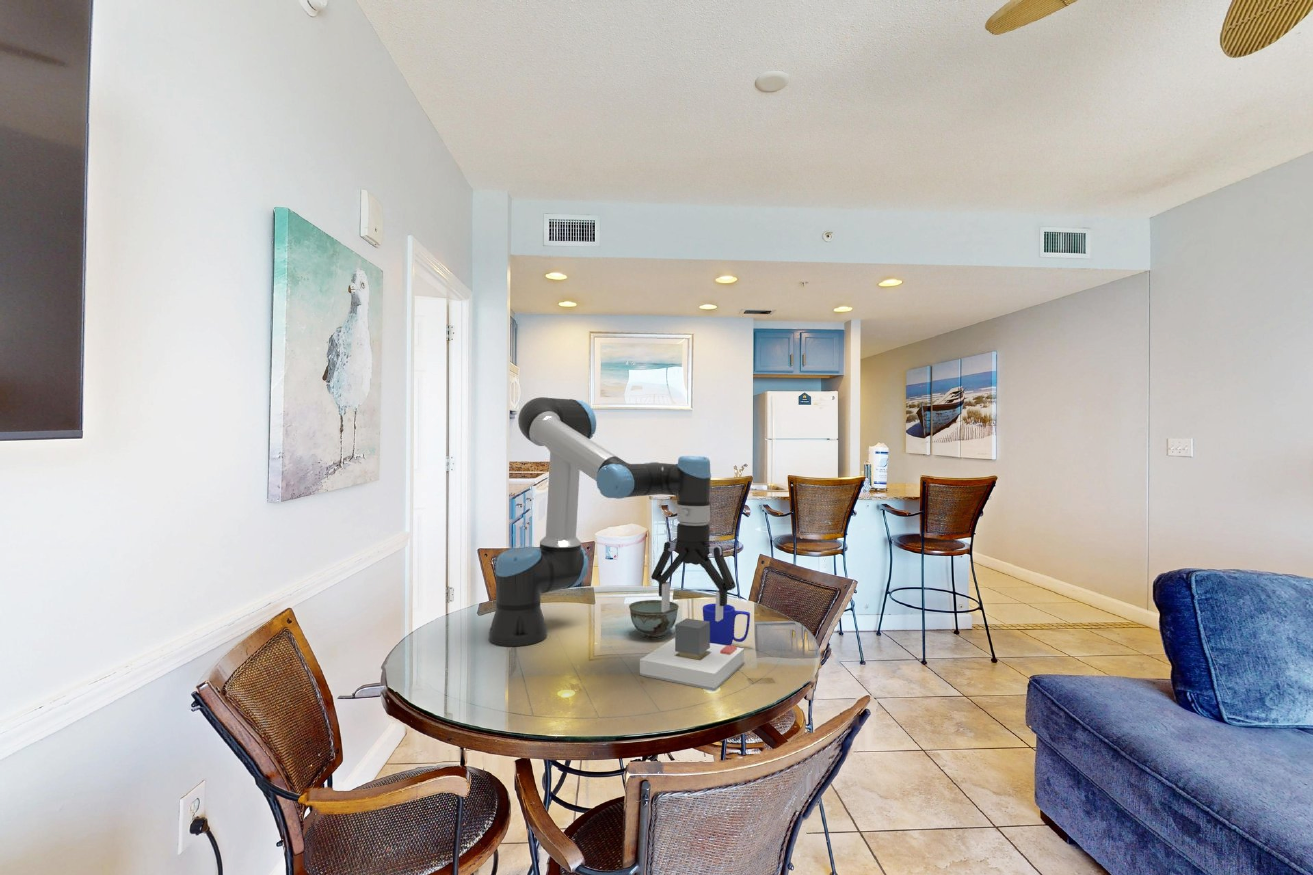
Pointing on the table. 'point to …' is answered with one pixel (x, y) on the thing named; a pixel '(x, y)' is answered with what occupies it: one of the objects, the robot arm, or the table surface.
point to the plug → (692, 638)
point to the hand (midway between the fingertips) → (691, 615)
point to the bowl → (653, 617)
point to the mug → (723, 624)
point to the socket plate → (693, 665)
